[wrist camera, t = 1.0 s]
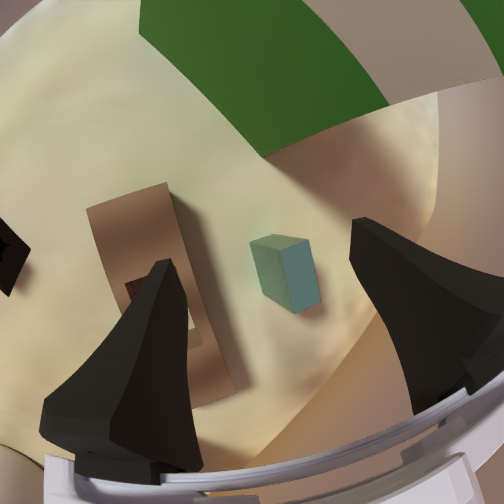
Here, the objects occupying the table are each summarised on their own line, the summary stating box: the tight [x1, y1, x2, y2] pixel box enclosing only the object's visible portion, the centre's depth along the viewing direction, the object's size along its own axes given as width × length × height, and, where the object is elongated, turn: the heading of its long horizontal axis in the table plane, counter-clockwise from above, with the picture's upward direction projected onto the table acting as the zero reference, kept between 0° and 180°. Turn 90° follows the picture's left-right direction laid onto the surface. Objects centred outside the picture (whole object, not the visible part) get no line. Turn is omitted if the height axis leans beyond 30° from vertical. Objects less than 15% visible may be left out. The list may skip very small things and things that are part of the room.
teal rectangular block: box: [249, 234, 321, 314], centre depth 23 cm, size 5×2×6 cm, turn 16°
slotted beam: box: [86, 182, 236, 409], centre depth 21 cm, size 18×6×4 cm, turn 16°
